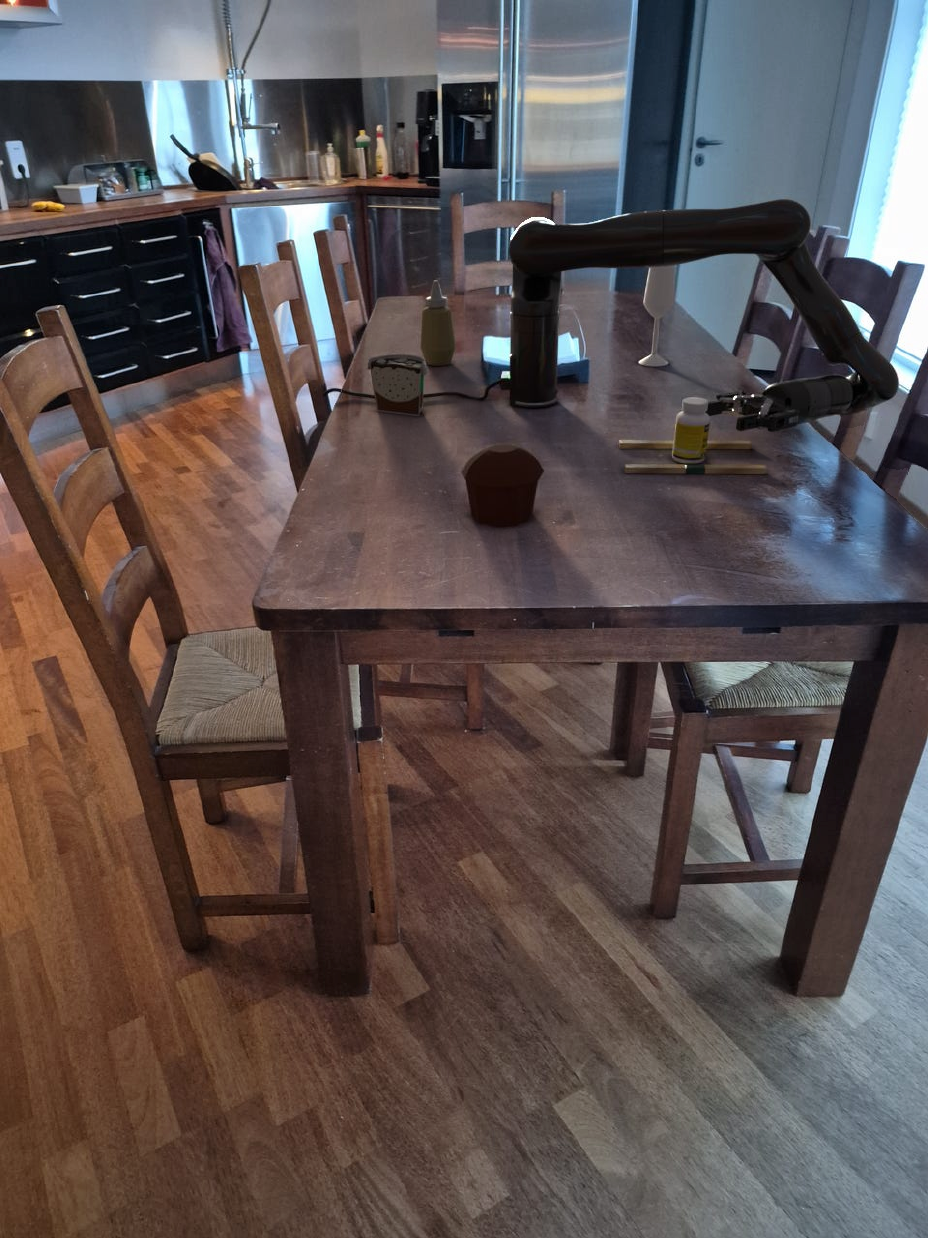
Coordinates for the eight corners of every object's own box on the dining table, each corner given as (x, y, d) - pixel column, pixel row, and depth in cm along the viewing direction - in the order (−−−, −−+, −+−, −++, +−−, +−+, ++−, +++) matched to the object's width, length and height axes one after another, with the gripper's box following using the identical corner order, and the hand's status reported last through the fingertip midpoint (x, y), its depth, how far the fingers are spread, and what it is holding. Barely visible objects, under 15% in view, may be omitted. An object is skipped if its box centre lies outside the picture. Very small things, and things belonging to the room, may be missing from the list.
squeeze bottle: (461, 359, 202) (459, 278, 192) (449, 368, 195) (446, 284, 186) (428, 357, 204) (425, 276, 195) (416, 366, 197) (411, 283, 188)
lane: (625, 473, 138) (625, 467, 138) (618, 445, 149) (619, 440, 149) (765, 474, 136) (766, 468, 136) (748, 446, 148) (749, 440, 147)
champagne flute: (656, 367, 192) (666, 251, 179) (632, 362, 196) (641, 248, 184) (674, 362, 195) (686, 247, 183) (650, 357, 200) (660, 245, 188)
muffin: (481, 536, 119) (480, 467, 114) (450, 507, 128) (448, 442, 123) (556, 520, 123) (559, 453, 118) (521, 493, 132) (522, 430, 127)
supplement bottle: (705, 465, 140) (713, 406, 135) (671, 464, 141) (677, 404, 136) (704, 454, 145) (712, 396, 140) (671, 452, 146) (677, 395, 141)
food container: (440, 408, 170) (438, 356, 165) (426, 417, 165) (423, 364, 160) (385, 401, 175) (382, 351, 169) (370, 410, 170) (366, 358, 165)
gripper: (769, 370, 151) (695, 383, 145) (832, 390, 140) (753, 405, 134) (763, 412, 155) (690, 427, 149) (823, 435, 144) (747, 452, 138)
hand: (720, 417), depth 141 cm, fingers open, 8 cm apart
